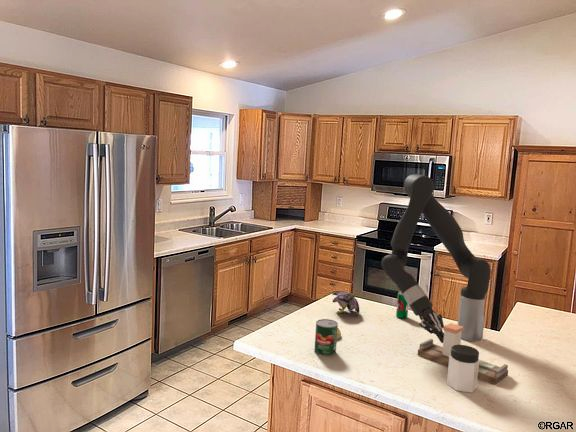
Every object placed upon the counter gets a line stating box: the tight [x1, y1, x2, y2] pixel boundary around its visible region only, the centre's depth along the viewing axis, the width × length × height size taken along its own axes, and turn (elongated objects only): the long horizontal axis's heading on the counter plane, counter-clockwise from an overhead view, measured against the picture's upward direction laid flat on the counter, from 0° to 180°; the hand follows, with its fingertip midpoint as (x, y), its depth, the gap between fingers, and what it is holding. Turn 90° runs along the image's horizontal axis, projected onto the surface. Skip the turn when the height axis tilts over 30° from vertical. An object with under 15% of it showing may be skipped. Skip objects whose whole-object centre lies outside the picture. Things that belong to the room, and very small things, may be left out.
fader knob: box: [442, 322, 463, 357], centre depth 159 cm, size 5×6×10 cm
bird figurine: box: [331, 290, 360, 317], centre depth 204 cm, size 15×12×15 cm
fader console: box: [417, 338, 509, 386], centre depth 156 cm, size 28×10×4 cm, turn 44°
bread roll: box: [337, 328, 342, 340], centre depth 177 cm, size 8×9×4 cm
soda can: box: [395, 290, 409, 320], centre depth 203 cm, size 5×5×12 cm
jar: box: [446, 344, 480, 394], centre depth 141 cm, size 9×8×12 cm
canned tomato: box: [313, 318, 339, 358], centre depth 161 cm, size 8×8×11 cm
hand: (445, 341), depth 161 cm, fingers closed
